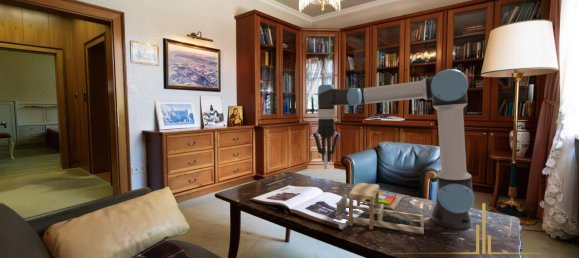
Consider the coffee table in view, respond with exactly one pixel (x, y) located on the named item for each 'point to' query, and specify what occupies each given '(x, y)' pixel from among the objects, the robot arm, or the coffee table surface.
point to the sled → (380, 217)
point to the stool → (364, 193)
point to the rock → (397, 219)
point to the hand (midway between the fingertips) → (326, 168)
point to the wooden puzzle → (385, 200)
